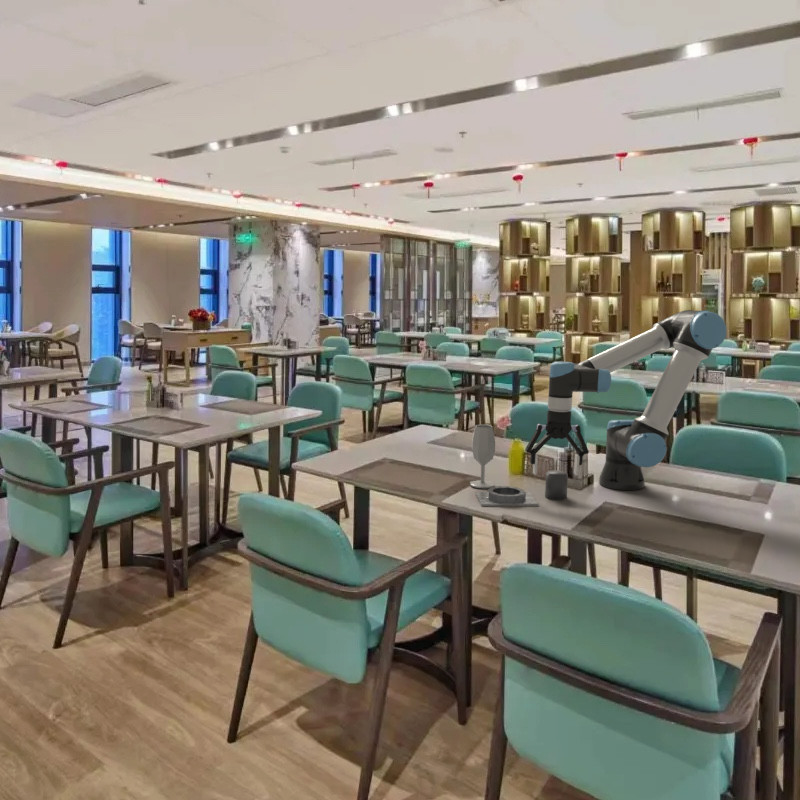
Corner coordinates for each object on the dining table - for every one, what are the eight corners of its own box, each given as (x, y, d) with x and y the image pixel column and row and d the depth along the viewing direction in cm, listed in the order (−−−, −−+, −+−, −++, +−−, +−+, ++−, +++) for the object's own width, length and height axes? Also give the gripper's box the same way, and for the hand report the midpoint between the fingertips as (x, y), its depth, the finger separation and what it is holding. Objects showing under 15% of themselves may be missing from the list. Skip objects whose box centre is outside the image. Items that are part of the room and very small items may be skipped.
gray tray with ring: (529, 494, 244) (529, 485, 243) (538, 506, 231) (538, 496, 230) (475, 494, 243) (475, 485, 242) (481, 506, 230) (481, 496, 230)
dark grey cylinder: (563, 494, 245) (564, 469, 243) (569, 500, 238) (570, 475, 237) (542, 494, 244) (543, 469, 243) (547, 500, 237) (548, 475, 236)
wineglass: (475, 490, 249) (476, 428, 246) (466, 483, 257) (467, 424, 254) (499, 488, 251) (501, 427, 248) (489, 482, 259) (491, 423, 256)
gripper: (594, 408, 241) (589, 472, 244) (518, 407, 240) (515, 470, 243) (601, 412, 234) (596, 477, 237) (523, 410, 233) (519, 476, 236)
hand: (555, 474), depth 240 cm, fingers open, 13 cm apart
